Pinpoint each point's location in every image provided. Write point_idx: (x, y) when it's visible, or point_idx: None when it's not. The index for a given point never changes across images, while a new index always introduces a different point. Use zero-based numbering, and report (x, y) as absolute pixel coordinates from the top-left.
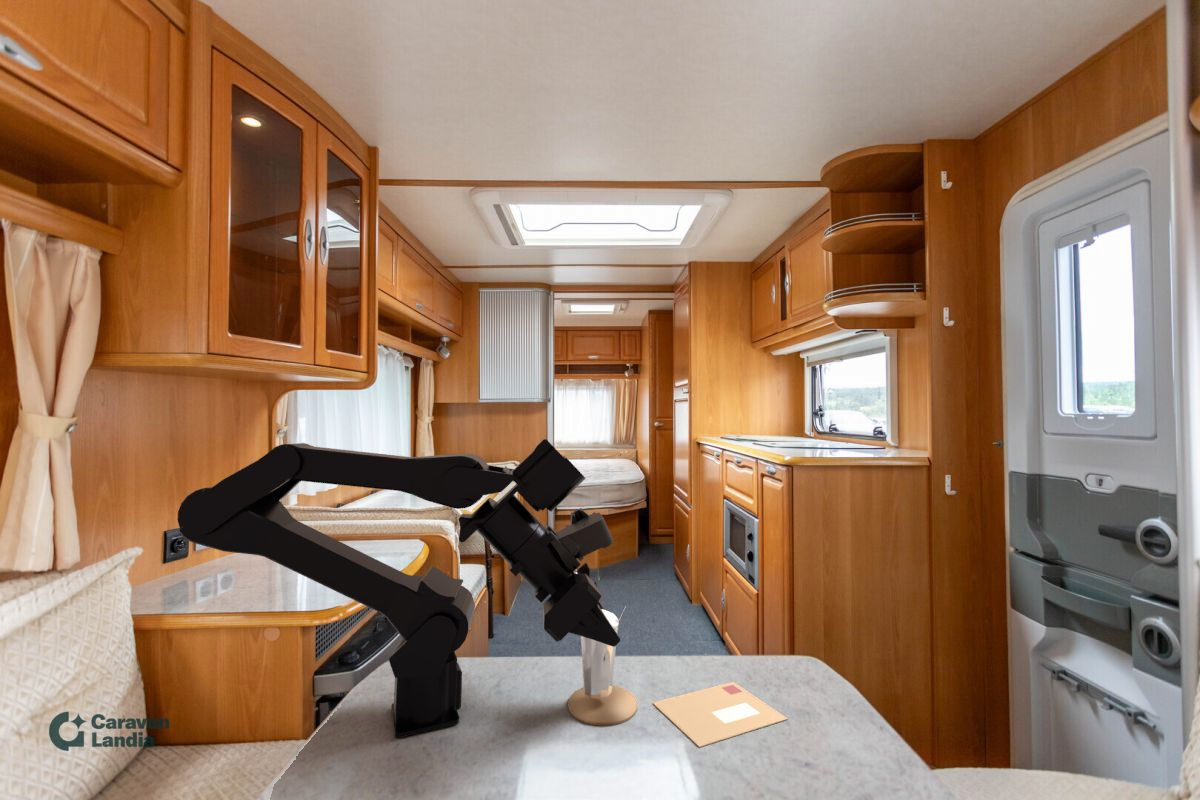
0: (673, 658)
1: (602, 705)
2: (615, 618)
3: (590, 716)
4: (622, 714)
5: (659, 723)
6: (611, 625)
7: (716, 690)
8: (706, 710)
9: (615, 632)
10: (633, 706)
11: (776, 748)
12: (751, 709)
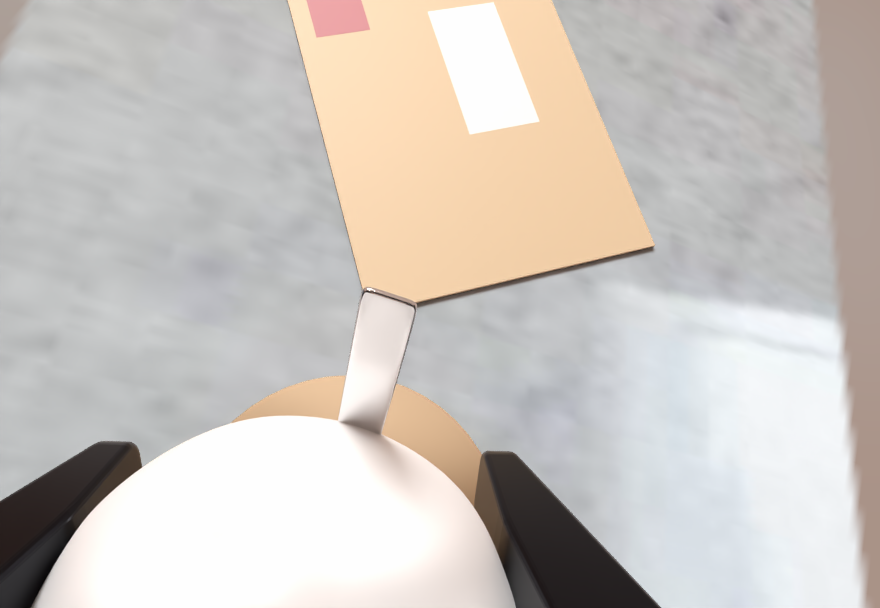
0: (3, 107)
1: None
2: (356, 459)
3: None
4: (460, 466)
5: (506, 329)
6: (566, 555)
7: (332, 60)
8: (455, 144)
9: (564, 506)
10: (404, 403)
11: (660, 48)
12: (470, 14)
